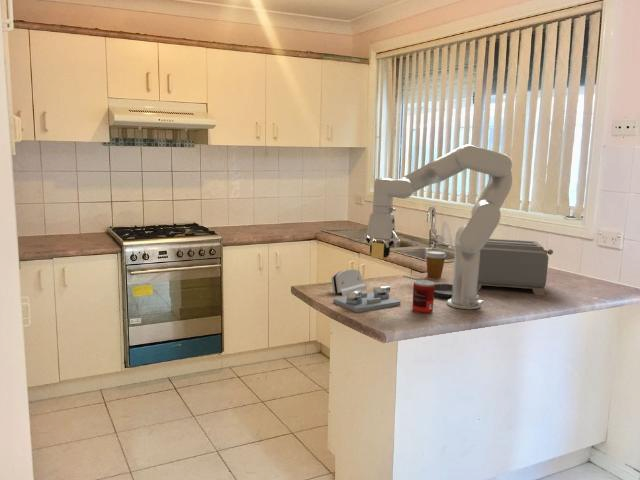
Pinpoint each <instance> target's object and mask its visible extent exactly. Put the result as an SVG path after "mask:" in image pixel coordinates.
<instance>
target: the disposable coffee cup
mask: <svg viewBox="0 0 640 480" xmlns="http://www.w3.org/2000/svg"><path fill="white" fill-rule="evenodd" d="M446 257H447V254H446V252H444V251H441V250H426V253H425V259H426V273H427V275H426V276H427V278H428V279H433V280H436V279H437V280H439V279H441V278H442V274H443V270H444V264H445V259H446Z"/></svg>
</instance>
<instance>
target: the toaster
mask: <svg viewBox="0 0 640 480" xmlns="http://www.w3.org/2000/svg"><path fill="white" fill-rule="evenodd" d="M553 254H554V250H553V249H548V250H546V249H545V248H544V247H543V246H542V245H541V244H540V243H539V242H538V241H535V240H520V239H519V240H515V239H501V238H489V240H488V241H487V243H486V244H485V246H484V247H483V248H482V249H481V250H480V266H479V278H478V290H477V291H481V288H482V286H489V287H490V286H491V287H503V288H505V287H506V288H516V289H518V288H519V289H520V288H521V289H529V290H530V289H531V292H532V293H533V294H534V295H537V296H545V295H546V293H545V291H544V289H545V287H546V284H547V277H548V267H549V255H550V256H551V255H553Z"/></svg>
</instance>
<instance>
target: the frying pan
mask: <svg viewBox="0 0 640 480" xmlns="http://www.w3.org/2000/svg"><path fill="white" fill-rule="evenodd" d="M402 278H406V279H412V280H414V281H416V280H421V279H420V278H414V277H411V276H405V275H403V276H402ZM452 285H453V283H452V284H450V283H435V288H434V297H437V298H440V299H445V300H448V299H451V298H452Z"/></svg>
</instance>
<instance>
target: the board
mask: <svg viewBox="0 0 640 480" xmlns="http://www.w3.org/2000/svg"><path fill="white" fill-rule="evenodd" d="M361 293H362V295H361V297H359V298H361V299H362V303H361V304H358V305H353V304H348V303H346V299H347V296H341V297H335V298H332V299H333V302H332V303H334V304H336V305H339V306H341V307H343V308H345V309H348V310H350V311H352V312H354V313H362V312H370V311H375V310H380V309H387V308H392V307H396V306H397V307H398V306H401V302H402V301H401V300H398V299H395V298H393V297H390V296H389V299H382V300H381V298H375V297H374V292H370V293H368V292H361Z"/></svg>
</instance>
